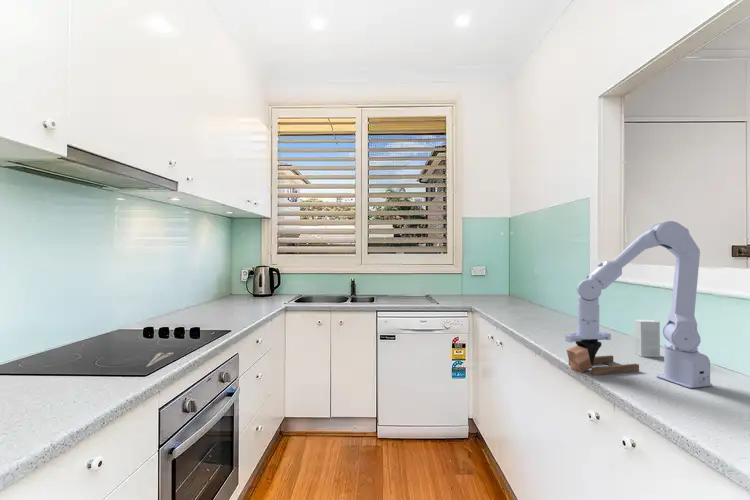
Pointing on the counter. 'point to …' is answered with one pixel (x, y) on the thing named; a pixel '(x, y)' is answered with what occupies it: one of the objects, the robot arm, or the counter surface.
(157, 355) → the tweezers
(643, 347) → the skincare box
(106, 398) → the counter surface
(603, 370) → the walnut channel
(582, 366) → the terracotta block
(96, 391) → the counter surface
